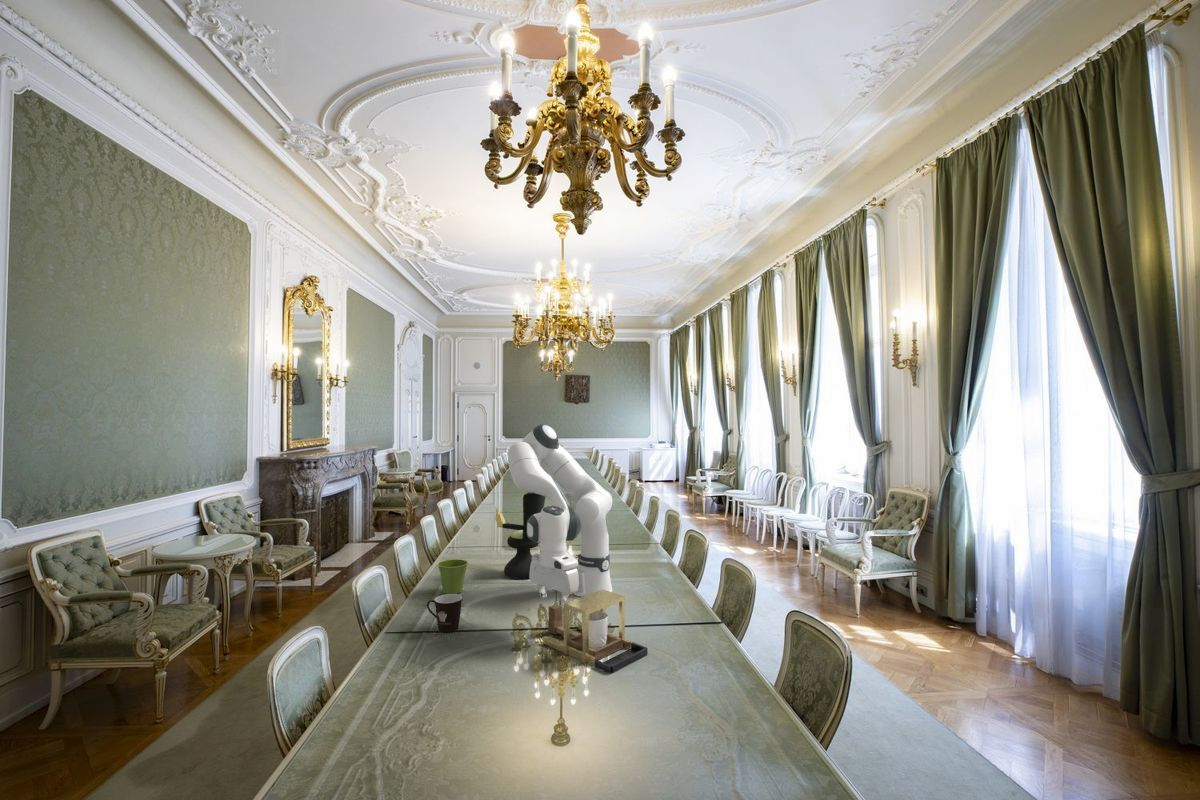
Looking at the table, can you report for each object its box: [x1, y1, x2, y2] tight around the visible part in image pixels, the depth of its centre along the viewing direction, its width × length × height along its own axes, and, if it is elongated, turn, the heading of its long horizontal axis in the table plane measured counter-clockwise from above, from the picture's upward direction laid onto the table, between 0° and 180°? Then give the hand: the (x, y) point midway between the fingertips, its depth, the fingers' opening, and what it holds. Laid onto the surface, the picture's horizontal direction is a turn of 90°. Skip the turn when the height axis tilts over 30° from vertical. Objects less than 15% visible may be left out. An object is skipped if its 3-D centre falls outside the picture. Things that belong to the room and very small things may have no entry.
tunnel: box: [543, 590, 648, 674], centre depth 167 cm, size 28×17×15 cm, turn 47°
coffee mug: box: [426, 593, 463, 634], centre depth 182 cm, size 12×9×10 cm
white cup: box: [581, 610, 609, 650], centre depth 167 cm, size 8×8×10 cm
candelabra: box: [495, 490, 546, 580], centre depth 239 cm, size 19×22×45 cm
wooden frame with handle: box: [547, 604, 624, 661], centre depth 171 cm, size 25×12×8 cm, turn 47°
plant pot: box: [436, 558, 469, 594], centre depth 217 cm, size 12×12×11 cm
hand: (552, 601), depth 179 cm, fingers open, 8 cm apart
